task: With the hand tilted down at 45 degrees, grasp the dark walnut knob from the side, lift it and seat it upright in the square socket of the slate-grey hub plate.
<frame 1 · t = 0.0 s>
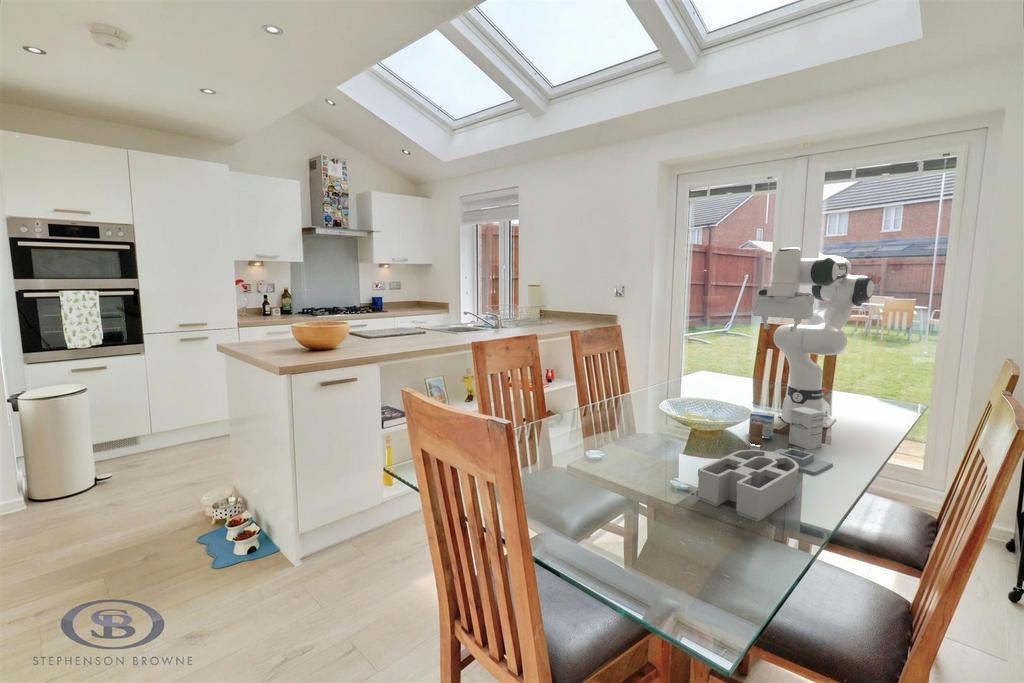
hand: (779, 330, 179), 39 cm above the table, tool pointing down, fingers open, 8 cm apart
medicine box: (760, 436, 181), on the table
supplement box: (804, 445, 171), on the table
knob: (755, 445, 171), on the table
grey compartment organizer: (752, 496, 133), on the table
hub plate: (796, 462, 155), on the table
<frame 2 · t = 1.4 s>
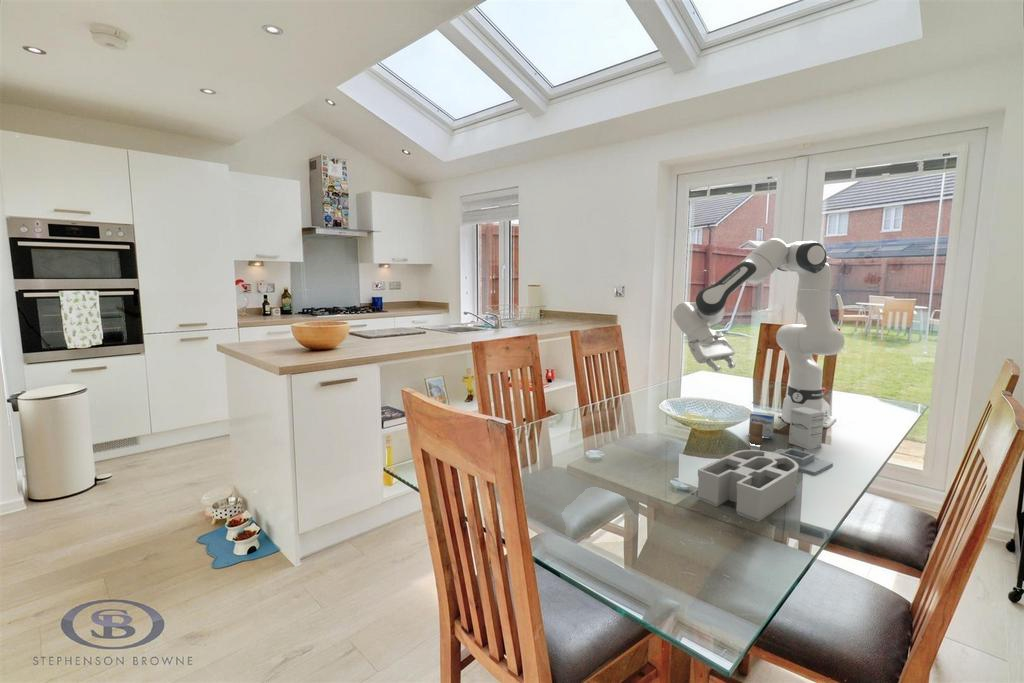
hand: (725, 368, 178), 25 cm above the table, tool tilted 45°, fingers open, 8 cm apart
nothing on the table moved.
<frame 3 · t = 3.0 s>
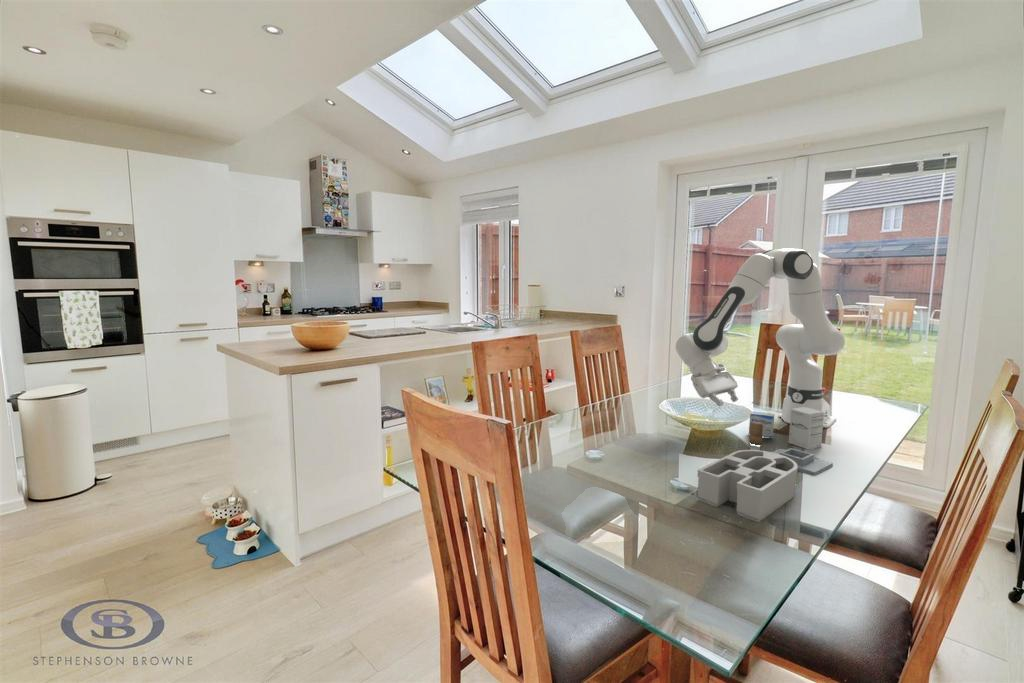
hand: (728, 402, 178), 13 cm above the table, tool tilted 45°, fingers open, 8 cm apart
nothing on the table moved.
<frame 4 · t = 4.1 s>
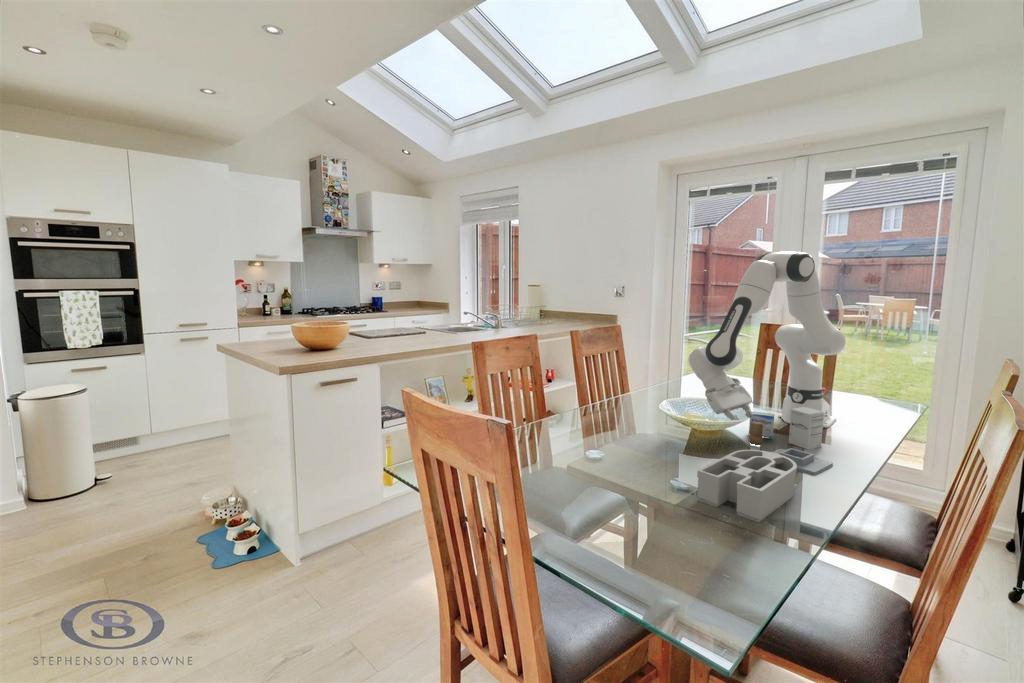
hand: (743, 418, 174), 8 cm above the table, tool tilted 45°, fingers open, 8 cm apart
nothing on the table moved.
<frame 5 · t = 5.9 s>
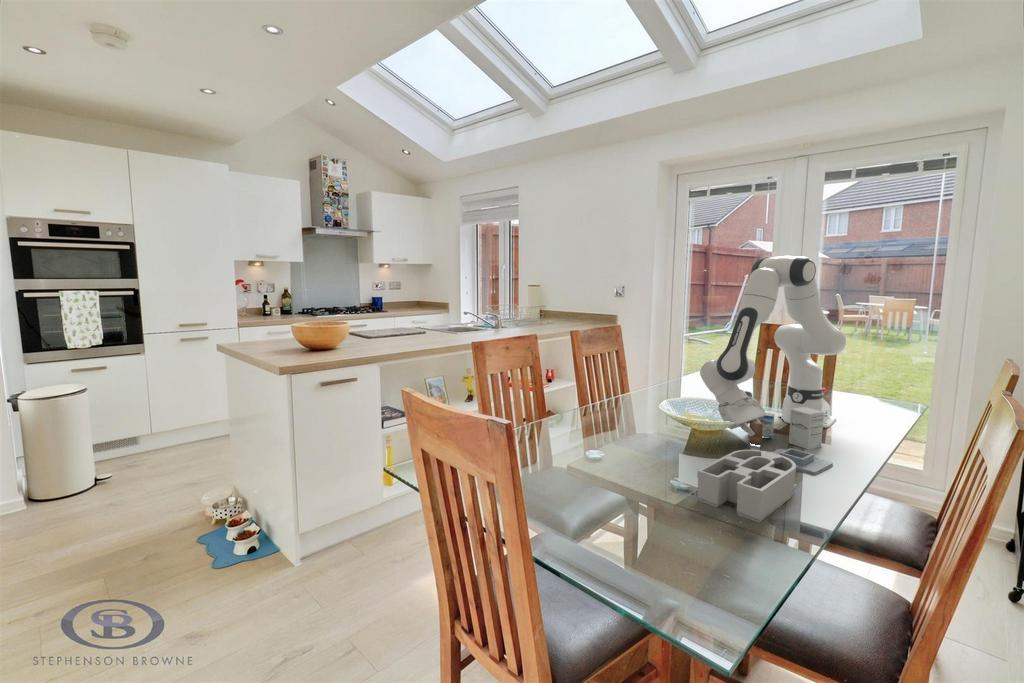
hand: (757, 433, 170), 4 cm above the table, tool tilted 45°, fingers closed on knob, 4 cm apart
knob: (755, 445, 171), on the table, touching gripper
everything else where it was.
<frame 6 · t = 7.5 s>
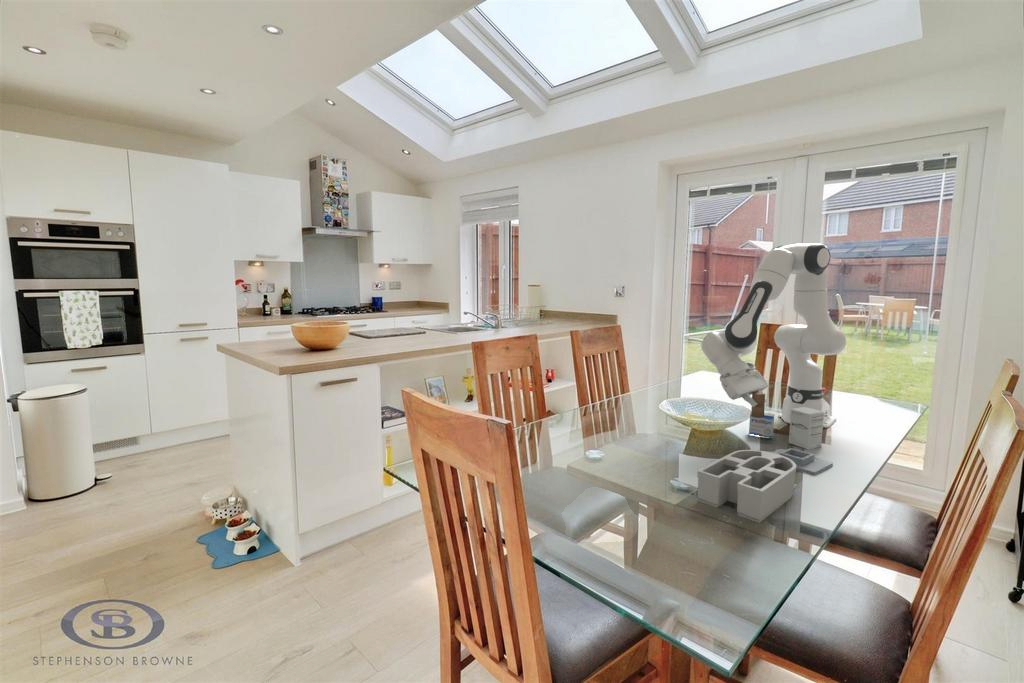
hand: (760, 404, 169), 15 cm above the table, tool tilted 45°, fingers closed on knob, 4 cm apart
knob: (757, 416, 170), point 10 cm above the table, touching gripper
everything else where it was.
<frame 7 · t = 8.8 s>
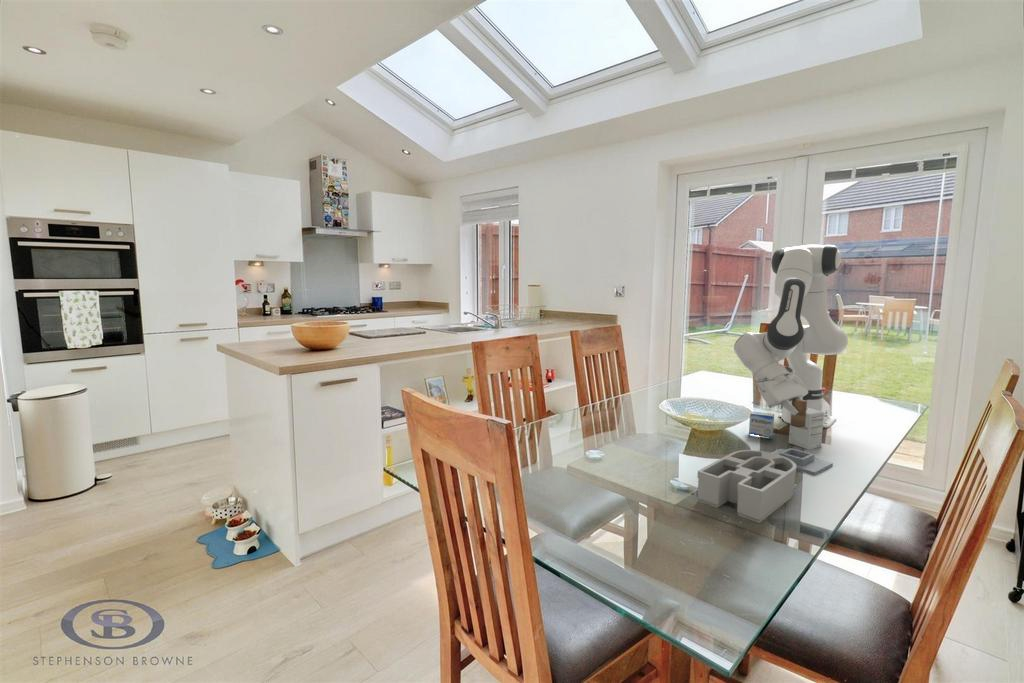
hand: (801, 412, 153), 17 cm above the table, tool tilted 45°, fingers closed on knob, 4 cm apart
knob: (797, 425, 154), point 12 cm above the table, touching gripper
everything else where it was.
when the fingers open (6 cm above the table, at t = 11.1 s): knob stays where it is, resting on hub plate.
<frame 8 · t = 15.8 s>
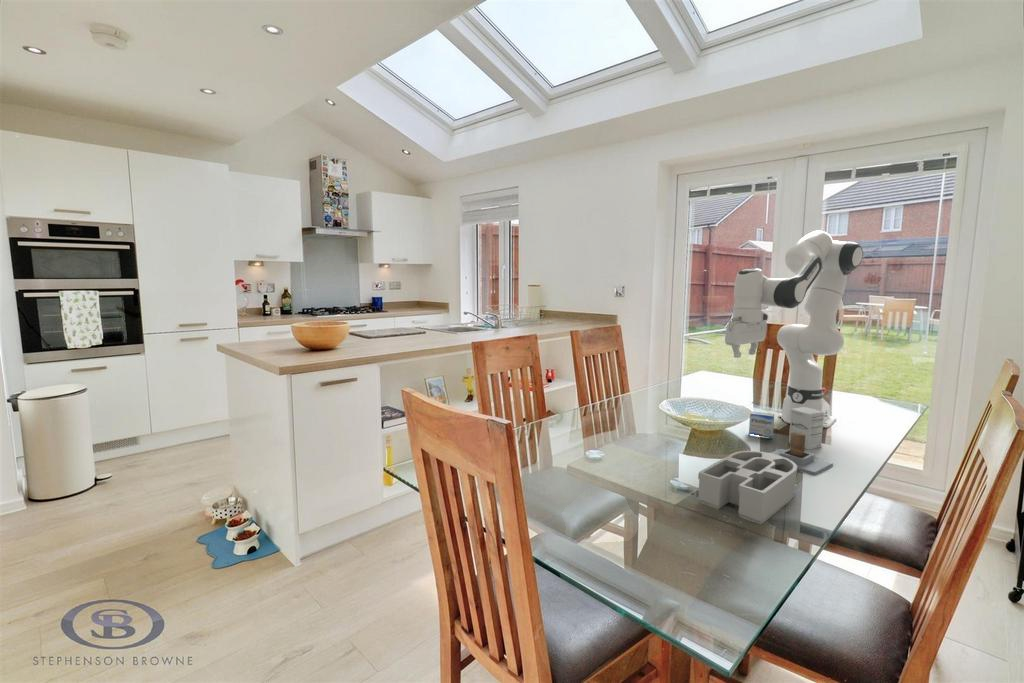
hand: (744, 356, 170), 31 cm above the table, tool pointing down, fingers open, 8 cm apart
knob: (796, 458, 155), point 1 cm above the table, touching hub plate
at the end: knob 0.1 cm off-centre on the hub plate, point 1.3 cm above the hub plate's base; knob tilted 0°; the gripper is holding nothing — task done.
